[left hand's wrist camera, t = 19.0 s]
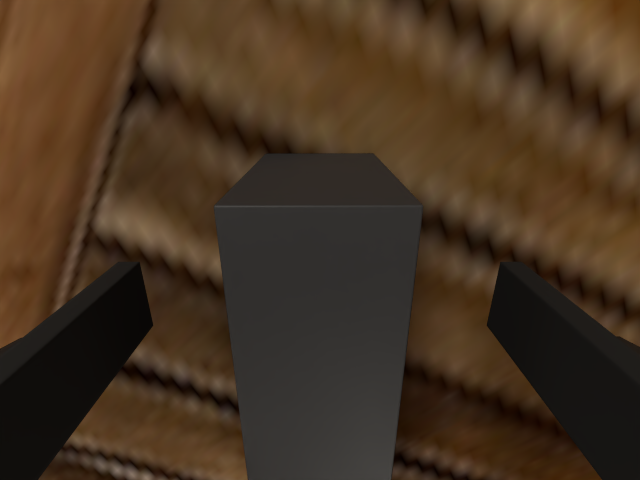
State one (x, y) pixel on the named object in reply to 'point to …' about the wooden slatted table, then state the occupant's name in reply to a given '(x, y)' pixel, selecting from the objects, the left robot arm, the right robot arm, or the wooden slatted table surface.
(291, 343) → the bar
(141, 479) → the wooden slatted table surface
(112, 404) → the wooden slatted table surface
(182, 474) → the wooden slatted table surface
